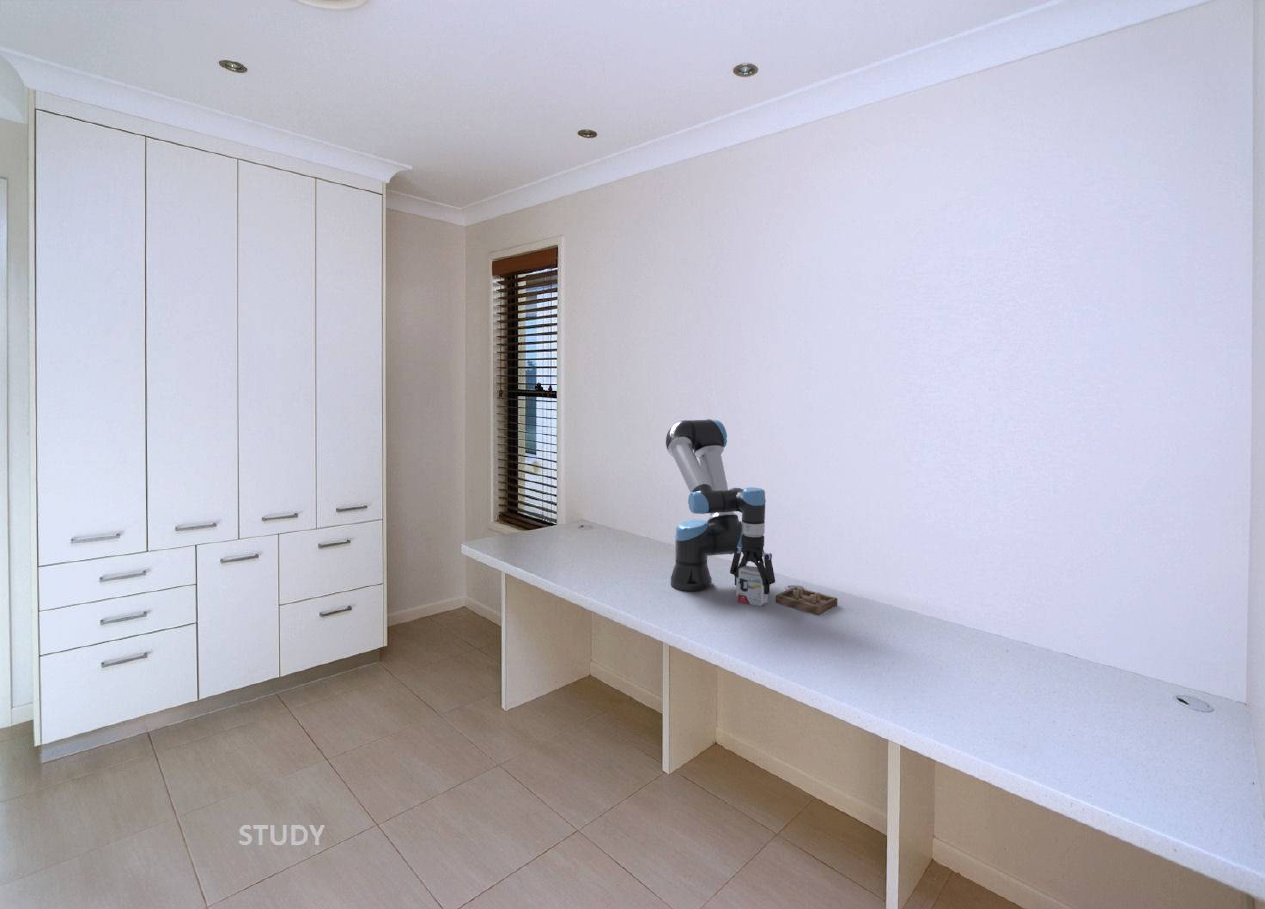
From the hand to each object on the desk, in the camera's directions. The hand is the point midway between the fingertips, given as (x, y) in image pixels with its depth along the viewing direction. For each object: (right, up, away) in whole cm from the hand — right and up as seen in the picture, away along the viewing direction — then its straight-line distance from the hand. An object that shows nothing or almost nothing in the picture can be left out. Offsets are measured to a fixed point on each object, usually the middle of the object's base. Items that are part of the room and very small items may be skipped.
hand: (751, 598), depth 210 cm
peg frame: (+18, -1, -2) cm, 18 cm away
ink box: (0, -1, 0) cm, 1 cm away
